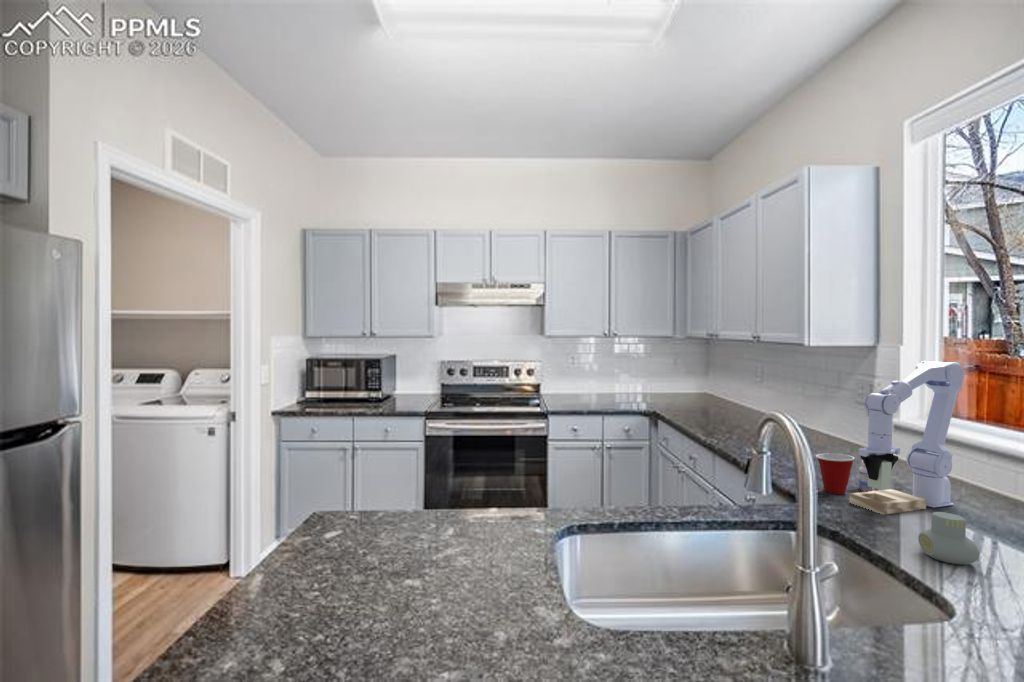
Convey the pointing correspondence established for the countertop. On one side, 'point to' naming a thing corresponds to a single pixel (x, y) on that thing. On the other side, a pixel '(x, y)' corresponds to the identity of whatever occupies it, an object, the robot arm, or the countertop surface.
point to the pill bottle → (864, 479)
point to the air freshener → (948, 540)
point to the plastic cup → (835, 471)
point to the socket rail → (887, 501)
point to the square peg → (882, 477)
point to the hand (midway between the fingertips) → (878, 478)
